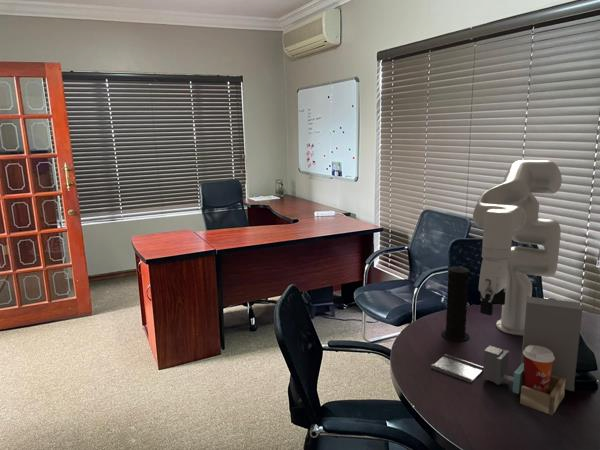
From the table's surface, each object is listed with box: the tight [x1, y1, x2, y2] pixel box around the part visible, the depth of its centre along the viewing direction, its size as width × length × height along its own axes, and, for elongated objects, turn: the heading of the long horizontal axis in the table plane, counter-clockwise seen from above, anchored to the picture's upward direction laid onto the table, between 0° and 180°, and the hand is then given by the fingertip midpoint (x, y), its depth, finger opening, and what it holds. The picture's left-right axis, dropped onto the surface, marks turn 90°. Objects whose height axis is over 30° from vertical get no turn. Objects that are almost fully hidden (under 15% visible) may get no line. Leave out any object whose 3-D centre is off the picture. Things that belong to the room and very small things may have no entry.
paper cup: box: [523, 345, 555, 394], centre depth 122 cm, size 8×8×14 cm
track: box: [430, 353, 483, 384], centre depth 138 cm, size 10×13×1 cm
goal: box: [519, 375, 566, 416], centre depth 121 cm, size 12×8×6 cm
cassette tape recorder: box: [520, 296, 583, 392], centre depth 128 cm, size 14×6×25 cm, turn 64°
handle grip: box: [440, 266, 471, 343], centre depth 158 cm, size 10×26×10 cm
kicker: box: [482, 345, 524, 395], centre depth 128 cm, size 7×11×9 cm, turn 46°
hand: (492, 308), depth 128 cm, fingers open, 9 cm apart
